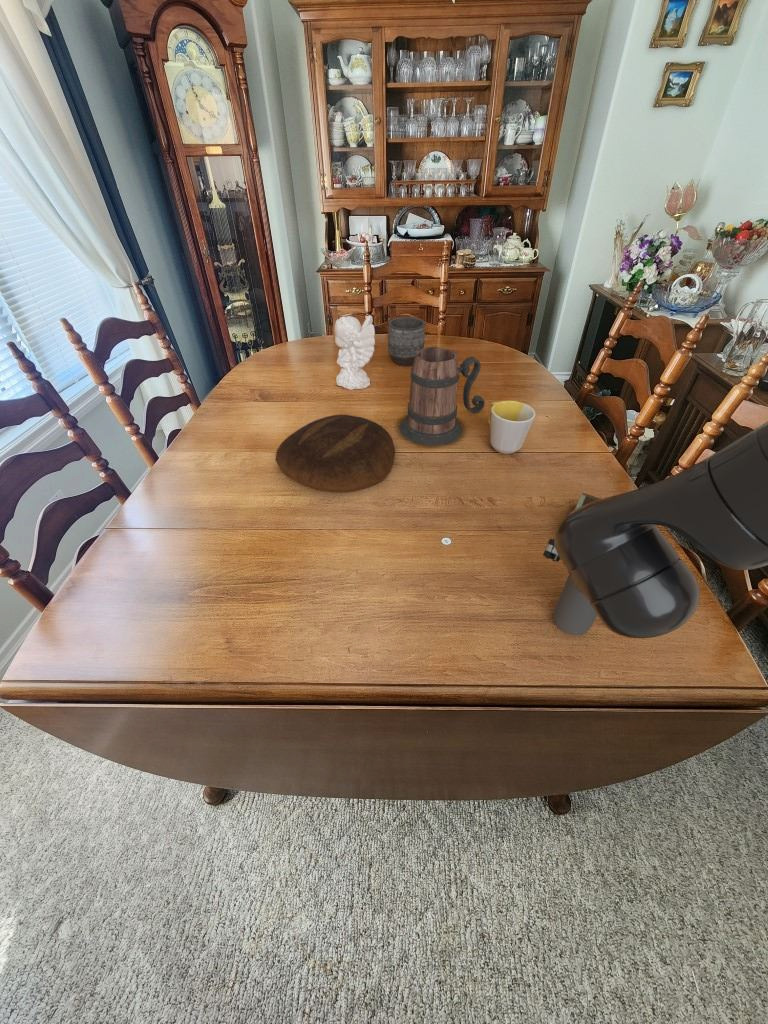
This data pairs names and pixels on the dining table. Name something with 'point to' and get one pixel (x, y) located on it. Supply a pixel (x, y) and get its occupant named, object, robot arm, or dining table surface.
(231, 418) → the dining table surface
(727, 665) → the dining table surface
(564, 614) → the bottle
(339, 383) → the cherub figurine
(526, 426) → the mug
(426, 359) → the tankard
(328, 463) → the bread
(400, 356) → the planter
